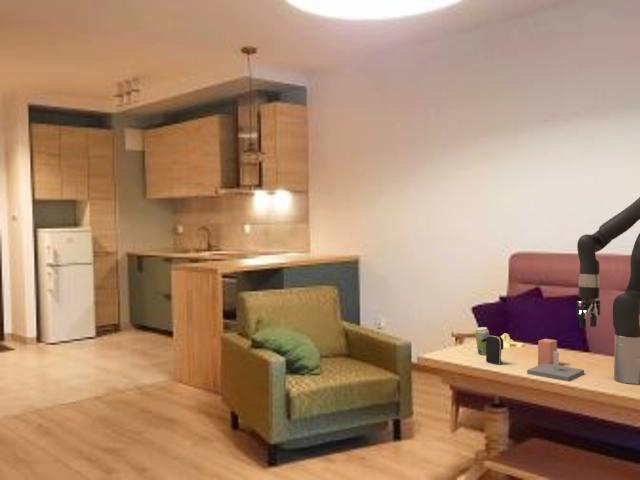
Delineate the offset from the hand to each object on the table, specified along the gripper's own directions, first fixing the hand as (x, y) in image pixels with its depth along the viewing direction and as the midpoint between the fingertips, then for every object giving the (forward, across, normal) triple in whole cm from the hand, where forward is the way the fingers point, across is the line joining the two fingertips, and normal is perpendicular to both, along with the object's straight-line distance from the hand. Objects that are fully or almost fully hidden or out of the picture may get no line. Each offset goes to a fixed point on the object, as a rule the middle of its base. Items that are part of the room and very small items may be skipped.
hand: (588, 327), depth 242 cm
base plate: (+19, -8, +9) cm, 22 cm away
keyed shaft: (+17, -8, +9) cm, 21 cm away
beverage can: (+18, 0, +48) cm, 51 cm away
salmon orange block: (+18, +4, +19) cm, 27 cm away
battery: (+19, -11, +35) cm, 41 cm away
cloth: (+18, +25, +55) cm, 63 cm away
